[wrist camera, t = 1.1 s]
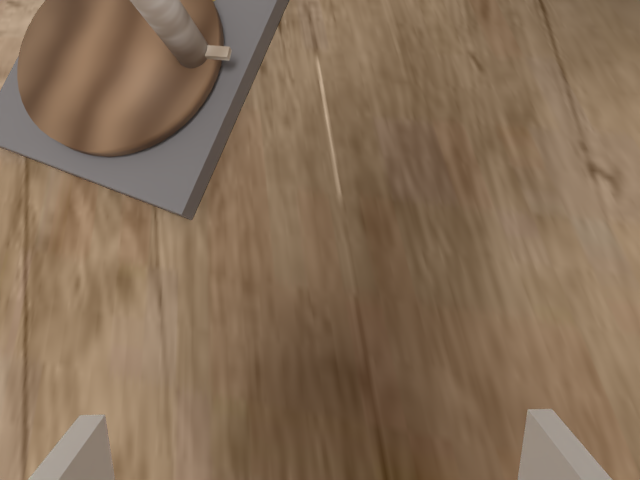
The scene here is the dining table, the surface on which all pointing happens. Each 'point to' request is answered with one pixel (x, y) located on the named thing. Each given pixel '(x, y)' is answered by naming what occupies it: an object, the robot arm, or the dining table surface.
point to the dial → (118, 70)
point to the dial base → (178, 149)
